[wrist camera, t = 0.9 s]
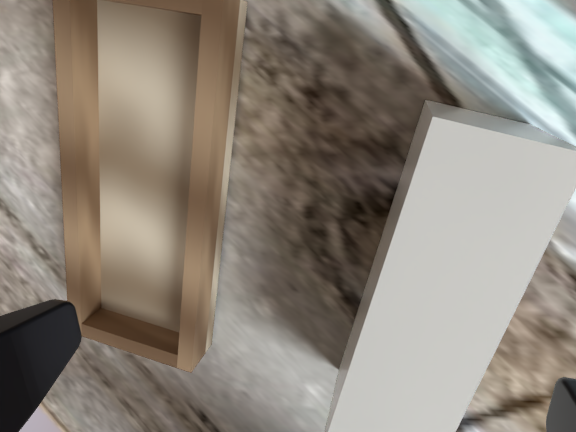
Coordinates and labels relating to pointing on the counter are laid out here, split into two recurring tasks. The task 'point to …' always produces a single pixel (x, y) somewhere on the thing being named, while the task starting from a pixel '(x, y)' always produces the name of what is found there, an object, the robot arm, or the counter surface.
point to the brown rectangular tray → (146, 166)
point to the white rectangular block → (449, 268)
